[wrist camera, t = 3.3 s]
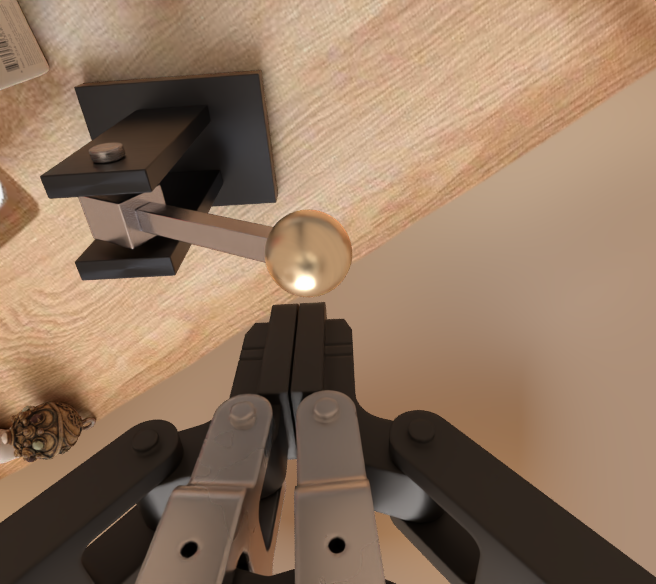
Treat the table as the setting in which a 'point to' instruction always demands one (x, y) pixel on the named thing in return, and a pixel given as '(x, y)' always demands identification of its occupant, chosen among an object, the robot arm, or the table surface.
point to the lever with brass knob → (231, 237)
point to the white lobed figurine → (6, 450)
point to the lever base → (168, 157)
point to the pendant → (45, 430)
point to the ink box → (18, 47)
